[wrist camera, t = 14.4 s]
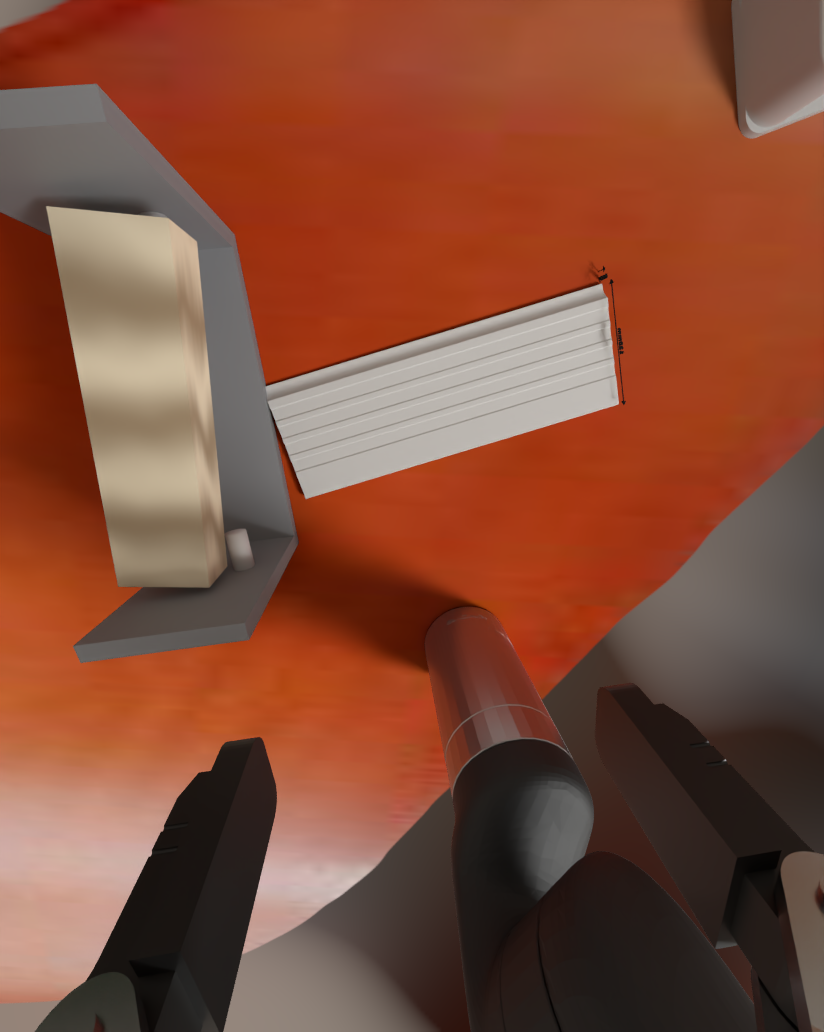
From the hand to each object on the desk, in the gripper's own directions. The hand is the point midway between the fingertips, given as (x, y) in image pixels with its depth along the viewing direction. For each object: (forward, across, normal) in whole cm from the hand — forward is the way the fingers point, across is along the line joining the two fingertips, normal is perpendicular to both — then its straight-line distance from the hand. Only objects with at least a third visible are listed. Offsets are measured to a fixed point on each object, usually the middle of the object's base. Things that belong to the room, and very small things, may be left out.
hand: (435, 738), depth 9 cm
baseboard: (+31, -6, -8) cm, 32 cm away
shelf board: (+22, +15, -7) cm, 28 cm away
